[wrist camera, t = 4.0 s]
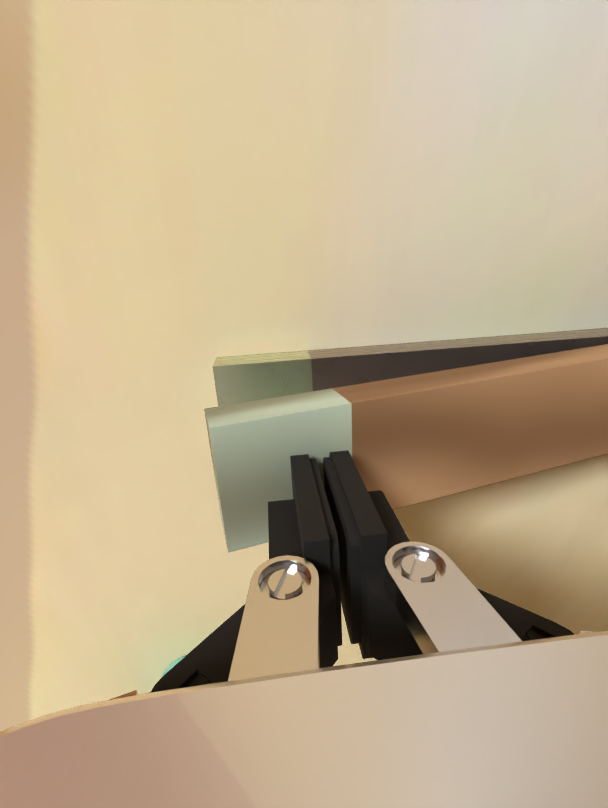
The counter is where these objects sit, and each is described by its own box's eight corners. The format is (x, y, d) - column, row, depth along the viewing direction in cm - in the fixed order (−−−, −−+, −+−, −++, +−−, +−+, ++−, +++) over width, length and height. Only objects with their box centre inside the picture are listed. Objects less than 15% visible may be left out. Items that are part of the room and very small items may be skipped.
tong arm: (204, 408, 12) (209, 428, 10) (679, 332, 17) (723, 338, 16) (222, 522, 13) (228, 552, 12) (655, 418, 19) (693, 430, 17)
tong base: (210, 311, 17) (192, 330, 13) (687, 278, 18) (813, 286, 14) (233, 476, 20) (224, 536, 16) (644, 437, 21) (738, 483, 17)
